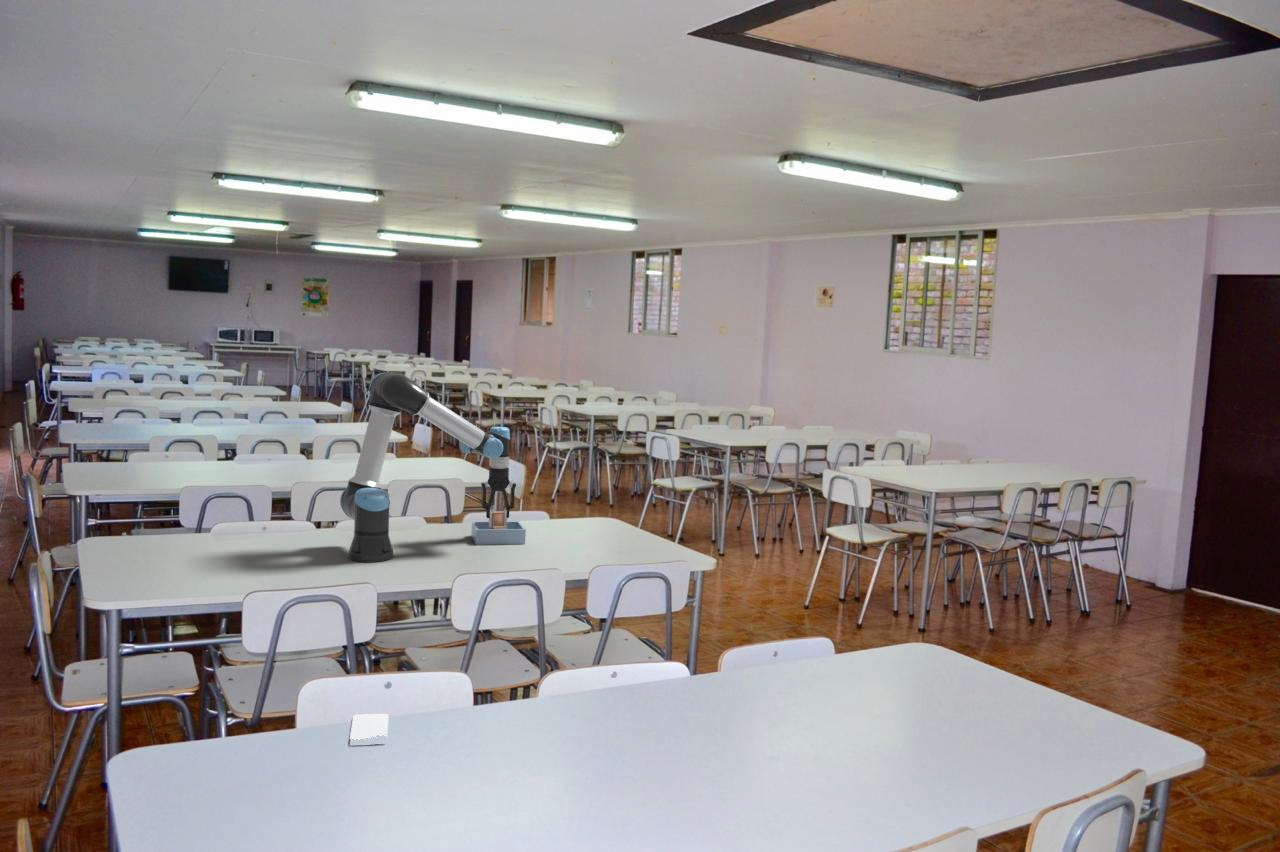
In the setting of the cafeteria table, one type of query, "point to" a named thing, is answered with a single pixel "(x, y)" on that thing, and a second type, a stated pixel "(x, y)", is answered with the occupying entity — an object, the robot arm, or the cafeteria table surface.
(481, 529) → the tote
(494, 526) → the cube
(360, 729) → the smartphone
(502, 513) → the cylinder
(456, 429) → the robot arm
